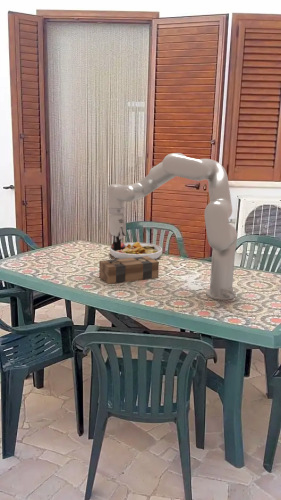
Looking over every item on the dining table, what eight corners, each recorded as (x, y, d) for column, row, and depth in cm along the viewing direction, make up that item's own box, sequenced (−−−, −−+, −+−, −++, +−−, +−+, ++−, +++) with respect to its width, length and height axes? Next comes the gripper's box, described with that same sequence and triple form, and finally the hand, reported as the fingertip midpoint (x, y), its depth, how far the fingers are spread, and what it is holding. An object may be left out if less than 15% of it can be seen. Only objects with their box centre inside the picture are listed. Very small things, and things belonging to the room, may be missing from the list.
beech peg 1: (121, 278, 215) (121, 263, 213) (113, 279, 213) (113, 264, 212) (117, 276, 219) (117, 261, 217) (110, 277, 217) (110, 261, 215)
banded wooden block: (158, 277, 220) (158, 261, 218) (108, 284, 208) (108, 267, 206) (147, 271, 230) (147, 256, 228) (99, 276, 219) (99, 260, 217)
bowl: (163, 251, 273) (163, 238, 271) (160, 264, 244) (161, 250, 242) (114, 249, 275) (114, 236, 274) (105, 262, 246) (105, 248, 245)
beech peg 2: (147, 275, 221) (147, 260, 219) (139, 276, 220) (140, 261, 218) (143, 273, 225) (144, 258, 223) (136, 274, 223) (136, 259, 221)
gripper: (130, 212, 203) (131, 252, 208) (117, 208, 216) (118, 246, 221) (115, 213, 200) (116, 254, 204) (103, 209, 213) (103, 247, 217)
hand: (117, 249), depth 212 cm, fingers closed
